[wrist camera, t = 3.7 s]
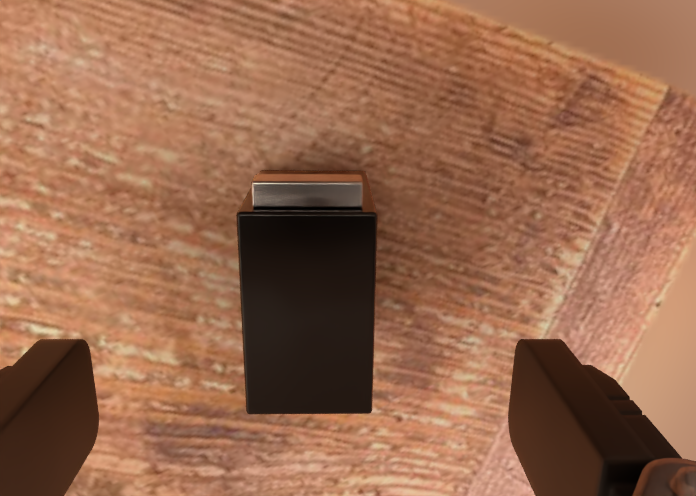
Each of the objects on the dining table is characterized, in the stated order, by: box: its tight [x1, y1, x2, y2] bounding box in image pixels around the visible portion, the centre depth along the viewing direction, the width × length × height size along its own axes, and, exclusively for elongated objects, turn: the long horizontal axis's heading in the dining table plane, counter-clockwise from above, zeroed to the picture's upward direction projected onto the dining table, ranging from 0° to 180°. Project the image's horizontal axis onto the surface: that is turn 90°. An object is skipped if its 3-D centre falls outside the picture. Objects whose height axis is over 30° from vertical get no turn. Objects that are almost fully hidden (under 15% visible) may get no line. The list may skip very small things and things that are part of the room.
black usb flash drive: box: [236, 170, 377, 414], centre depth 16 cm, size 6×3×4 cm, turn 179°
